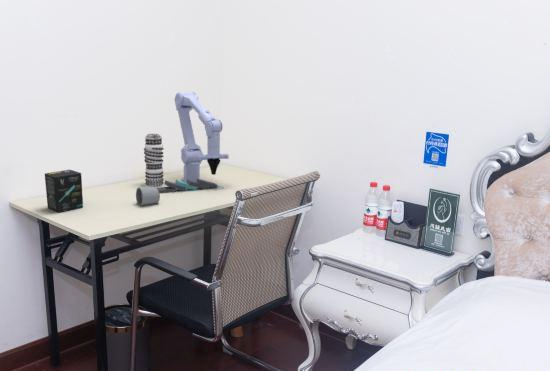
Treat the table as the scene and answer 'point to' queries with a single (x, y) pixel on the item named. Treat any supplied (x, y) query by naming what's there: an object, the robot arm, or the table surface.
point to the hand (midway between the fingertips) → (213, 174)
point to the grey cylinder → (147, 195)
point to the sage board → (199, 189)
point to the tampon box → (64, 190)
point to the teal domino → (185, 185)
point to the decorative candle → (153, 160)
